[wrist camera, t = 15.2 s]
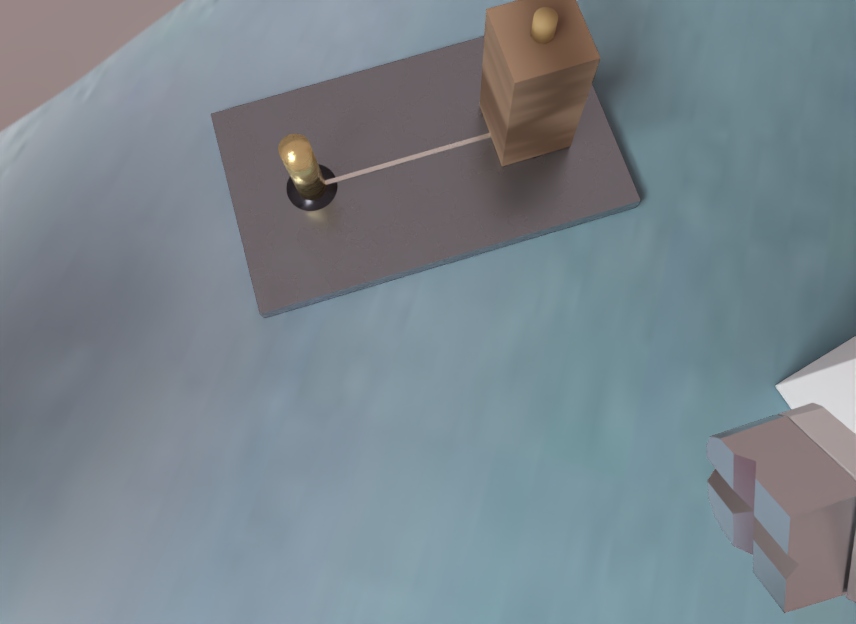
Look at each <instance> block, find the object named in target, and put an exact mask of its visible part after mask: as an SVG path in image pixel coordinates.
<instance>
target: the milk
mask: <svg viewBox="0 0 856 624" xmlns="http://www.w3.org/2000/svg"><path fill="white" fill-rule="evenodd" d="M775 387H776V388H777V390H778V391H779V393H780V394H781V395H782V397H783V398H784V399H785V401H786V402H787V404H788V405H789V406H790V408H791V409H795V408H798V407H801V406H804V405H807V404H810V403H815V404H818V405H821V406H823V407H824V408H825V409H826V410H828V411H829V412H830V413H831V414H832V415H833V416H835V417H836V418H837V419H838V420H839V421H841V422H842V423H843V424H844V425H845V426H846V427H848V428H849V429H850V430H851V431H852V432H854V433H855V434H856V336H855V337H853V338H851V339H850V340H848V341H846V342H845V343H843V344H842V345H840V346H838V347H837V348H835V349H833V350H832V351H830V352H829V353H827V354H825V355H824V356H822V357H820V358H819V359H817V360H816V361H814V362H812V363H811V364H809V365H807V366H806V367H804V368H803V369H801V370H799V371H798V372H796V373H794V374H793V375H791V376H790V377H788V378H786V379H785V380H783V381H781V382H780V383H778V384H777V385H776V386H775Z"/></svg>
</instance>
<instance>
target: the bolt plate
mask: <svg viewBox="0 0 856 624" xmlns="http://www.w3.org/2000/svg"><path fill="white" fill-rule="evenodd" d="M483 49H484V36H483V37H480V38H476V39H473V40H469V41H466V42H462V43H459V44H455V45H452V46H448V47H445V48H441V49H438V50H434V51H431V52H427V53H424V54H420V55H416V56H413V57H409V58H406V59H402V60H399V61H395V62H392V63H388V64H385V65H381V66H378V67H374V68H371V69H367V70H364V71H360V72H357V73H353V74H350V75H346V76H343V77H339V78H335V79H332V80H328V81H325V82H321V83H318V84H314V85H311V86H307V87H304V88H300V89H297V90H293V91H290V92H286V93H283V94H279V95H276V96H272V97H269V98H265V99H262V100H258V101H254V102H251V103H247V104H244V105H240V106H237V107H233V108H230V109H226V110H223V111H219V112H216V113H212V114H211V117H212V121H213V125H214V129H215V133H216V138H217V142H218V146H219V150H220V154H221V158H222V162H223V166H224V170H225V174H226V178H227V182H228V186H229V190H230V194H231V199H232V203H233V207H234V211H235V215H236V219H237V223H238V227H239V231H240V235H241V239H242V243H243V247H244V251H245V255H246V260H247V264H248V268H249V272H250V276H251V280H252V284H253V288H254V292H255V296H256V300H257V304H258V308H259V312H260V315H261V316H263V317H264V318H267V317H270V316H273V315H277V314H280V313H283V312H287V311H290V310H293V309H297V308H300V307H303V306H307V305H310V304H314V303H317V302H320V301H324V300H327V299H330V298H334V297H337V296H340V295H344V294H347V293H350V292H354V291H357V290H360V289H364V288H367V287H371V286H374V285H377V284H381V283H384V282H387V281H391V280H394V279H397V278H401V277H404V276H407V275H411V274H414V273H417V272H421V271H424V270H428V269H431V268H434V267H438V266H441V265H444V264H448V263H451V262H454V261H458V260H461V259H464V258H468V257H471V256H474V255H478V254H481V253H485V252H488V251H491V250H495V249H498V248H501V247H505V246H508V245H511V244H515V243H518V242H521V241H525V240H528V239H531V238H535V237H538V236H542V235H545V234H548V233H552V232H555V231H558V230H562V229H565V228H568V227H572V226H575V225H578V224H582V223H585V222H588V221H592V220H595V219H599V218H602V217H605V216H609V215H612V214H615V213H619V212H622V211H625V210H629V209H632V208H635V207H637V206H638V204H639V203H640V201H641V200H640V197H639V195H638V193H637V190H636V188H635V185H634V183H633V181H632V178H631V176H630V173H629V171H628V169H627V166H626V164H625V161H624V159H623V157H622V154H621V152H620V149H619V147H618V145H617V142H616V140H615V137H614V135H613V133H612V130H611V128H610V126H609V123H608V121H607V118H606V116H605V114H604V111H603V109H602V106H601V104H600V102H599V99H598V97H597V94H596V92H595V90H594V87H593V85H591V88H590V91H589V94H588V97H587V100H586V103H585V105H584V108H583V111H582V114H581V117H580V120H579V123H578V126H577V129H576V132H575V135H574V138H573V141H572V144H571V146H570V147H567V148H563V149H560V150H557V151H553V152H550V153H546V154H543V155H540V156H536V157H533V158H529V159H526V160H523V161H519V162H516V163H512V164H509V165H505V166H501V163H500V160H499V157H498V155H497V152H496V149H495V146H494V144H493V141H492V138H491V135H490V133H489V130H488V127H487V124H486V122H485V119H484V116H483V113H482V111H481V108H480V91H481V77H482V63H483Z"/></svg>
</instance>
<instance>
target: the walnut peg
mask: <svg viewBox="0 0 856 624" xmlns="http://www.w3.org/2000/svg"><path fill="white" fill-rule="evenodd" d="M600 59H601V58H600V56H599V53H598V51H597V49H596V46H595V44H594V42H593V39H592V37H591V34H590V32H589V30H588V27H587V25H586V23H585V20H584V18H583V16H582V13H581V11H580V9H579V6H578V4H577V2H576V0H517V1H514V2H510V3H507V4H503V5H500V6H496V7H493V8H489V9H486V21H485V35H484V49H483V63H482V77H481V91H480V108H481V111H482V113H483V116H484V119H485V122H486V124H487V127H488V130H489V133H490V135H491V138H492V141H493V144H494V146H495V149H496V152H497V155H498V157H499V160H500V163H501V166H505V165H509V164H512V163H516V162H519V161H523V160H526V159H529V158H533V157H536V156H540V155H543V154H546V153H550V152H553V151H557V150H560V149H563V148H567V147H570V146H571V144H572V141H573V138H574V135H575V132H576V129H577V126H578V123H579V120H580V117H581V114H582V111H583V108H584V105H585V103H586V100H587V97H588V94H589V91H590V88H591V85H592V82H593V79H594V76H595V73H596V70H597V67H598V64H599V62H600Z"/></svg>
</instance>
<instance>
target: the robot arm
mask: <svg viewBox="0 0 856 624" xmlns="http://www.w3.org/2000/svg"><path fill="white" fill-rule="evenodd" d="M706 447H707V459H708V460H709V461H710V462H711V464H712V465H713V466H714V467H715V470H714V471H713V473H712V474H711V476H710V477H709V479H708V480H707V486H708V499H709V502H710V505H711V508H712V511H713V514H714V517H715V519H716V520H717V522H718V524H719V526H720V528H721V529H722V531H723V533H724V534H725V535H726V537H727V538H728V539H729V541H730V542H731V544H732V545H733V546H734V547H737V548H739V549H741V550H743V551H745V552H748V553H750V554H752V555H753V573H754V574H755V575H756V577H757V578H758V579H759V581H760V582H761V583H762V585H763V586H764V587H765V589H766V590H767V591H768V592H769V594H770V595H771V596H772V598H773V599H774V600H775V602H776V603H777V604H778V606H779V607H780V608H781V609H782V611H783V612H784V613H786V612H789V611H793V610H796V609H799V608H802V607H806V606H809V605H812V604H816V603H819V602H822V601H825V600H829V599H832V598H835V597H838V596H842V595H845V594H847V596H846V598H848V599H849V600H851V601H853V602H855V603H856V434H855V433H854V432H852V431H851V430H850V429H849V428H848V427H846V426H845V425H844V424H843V423H842V422H841V421H839V420H838V419H837V418H836V417H835V416H833V415H832V414H831V413H830V412H829V411H828V410H826V409H825V408H824V407H823V406H821V405H818V404H815V403H810V404H807V405H804V406H801V407H798V408H795V409H792V410H788V411H785V412H782V413H779V414H778V415H772V416H769V417H766V418H763V419H760V420H757V421H754V422H751V423H748V424H745V425H742V426H739V427H736V428H733V429H730V430H727V431H724V432H721V433H718V434H715V435H712V436H710V437H709V440H708V442H707V444H706Z"/></svg>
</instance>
